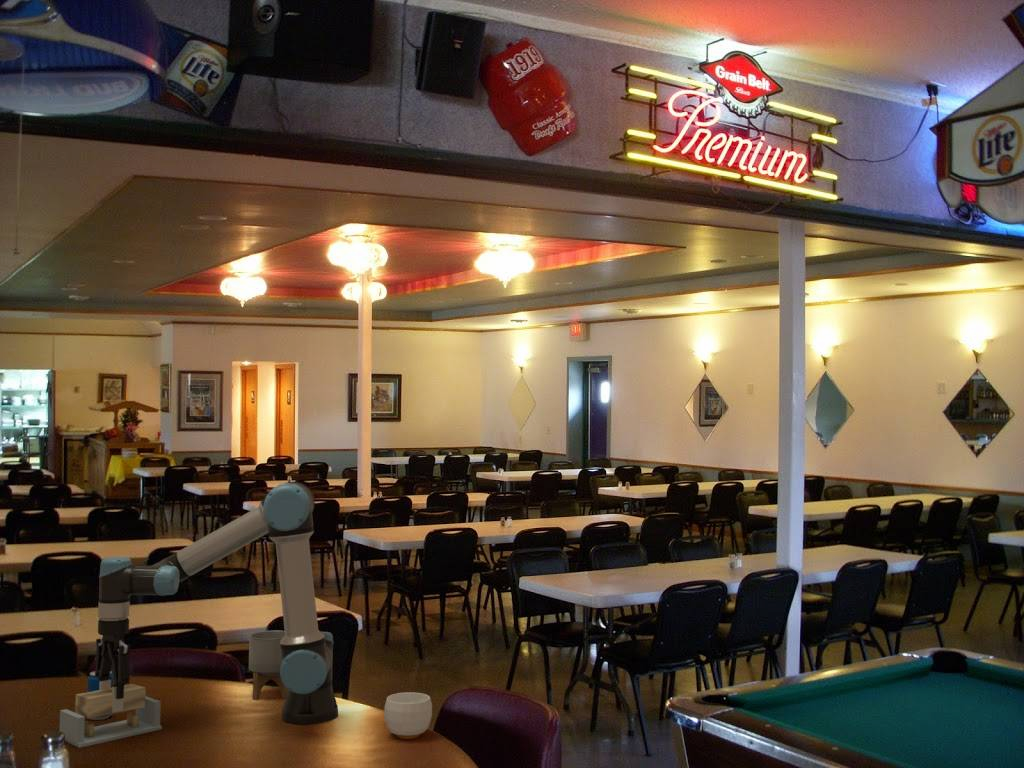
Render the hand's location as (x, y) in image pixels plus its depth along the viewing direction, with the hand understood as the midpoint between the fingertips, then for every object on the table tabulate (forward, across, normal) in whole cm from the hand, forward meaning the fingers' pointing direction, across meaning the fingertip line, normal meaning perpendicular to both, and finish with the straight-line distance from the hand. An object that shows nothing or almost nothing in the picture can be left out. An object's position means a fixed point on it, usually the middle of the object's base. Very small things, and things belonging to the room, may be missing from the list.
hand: (110, 708), depth 266 cm
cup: (+6, -56, -52) cm, 77 cm away
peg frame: (+6, 0, 0) cm, 6 cm away
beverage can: (+7, +16, -5) cm, 18 cm away
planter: (+7, +3, -51) cm, 52 cm away
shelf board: (+1, 0, 0) cm, 1 cm away
